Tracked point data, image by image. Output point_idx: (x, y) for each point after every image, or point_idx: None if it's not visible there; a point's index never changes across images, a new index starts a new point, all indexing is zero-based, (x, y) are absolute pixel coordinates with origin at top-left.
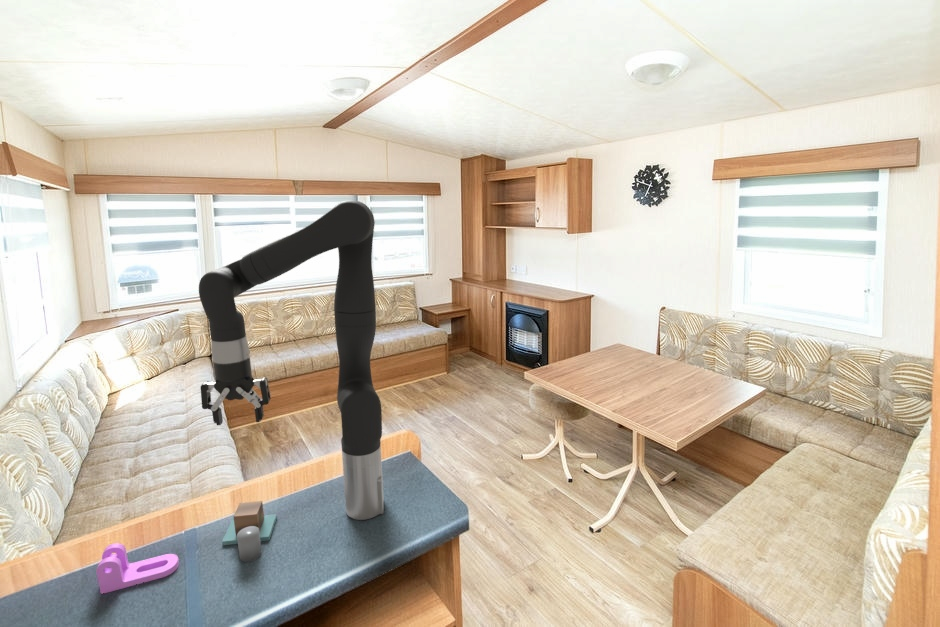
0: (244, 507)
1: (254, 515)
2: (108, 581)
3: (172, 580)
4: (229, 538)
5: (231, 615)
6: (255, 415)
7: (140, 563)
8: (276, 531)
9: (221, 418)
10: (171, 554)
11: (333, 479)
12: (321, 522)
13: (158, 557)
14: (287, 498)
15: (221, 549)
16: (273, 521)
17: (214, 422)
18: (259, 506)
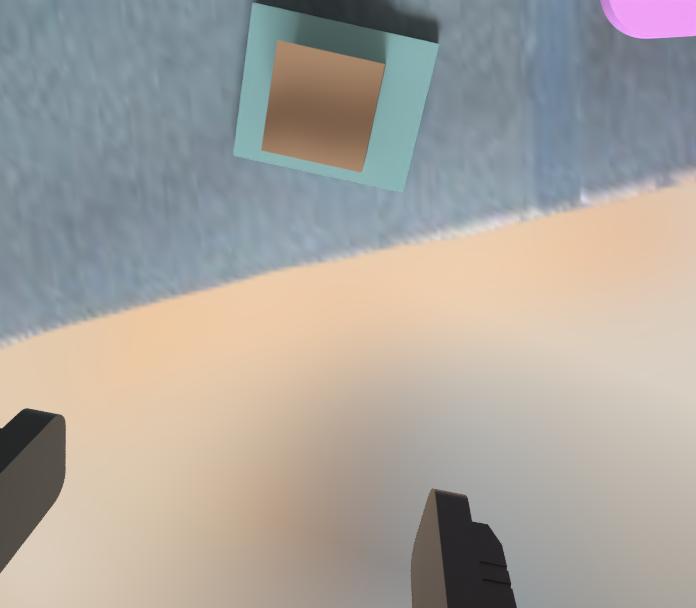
0: (338, 123)
1: (289, 43)
2: None
3: None
4: (410, 55)
5: None
6: (9, 463)
7: None
8: (232, 57)
9: (418, 576)
10: (633, 26)
11: (38, 329)
12: (56, 47)
13: (682, 25)
14: (205, 269)
15: (440, 18)
16: (241, 107)
17: (490, 533)
18: (269, 105)
